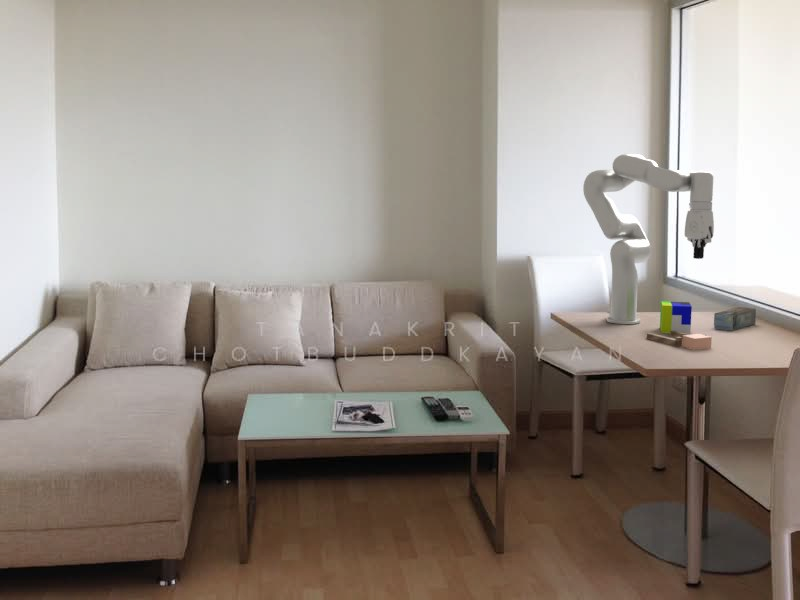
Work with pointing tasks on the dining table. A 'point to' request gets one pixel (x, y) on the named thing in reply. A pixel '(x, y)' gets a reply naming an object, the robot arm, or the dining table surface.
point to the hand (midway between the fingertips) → (698, 258)
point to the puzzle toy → (675, 317)
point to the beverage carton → (735, 318)
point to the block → (696, 341)
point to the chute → (675, 342)
